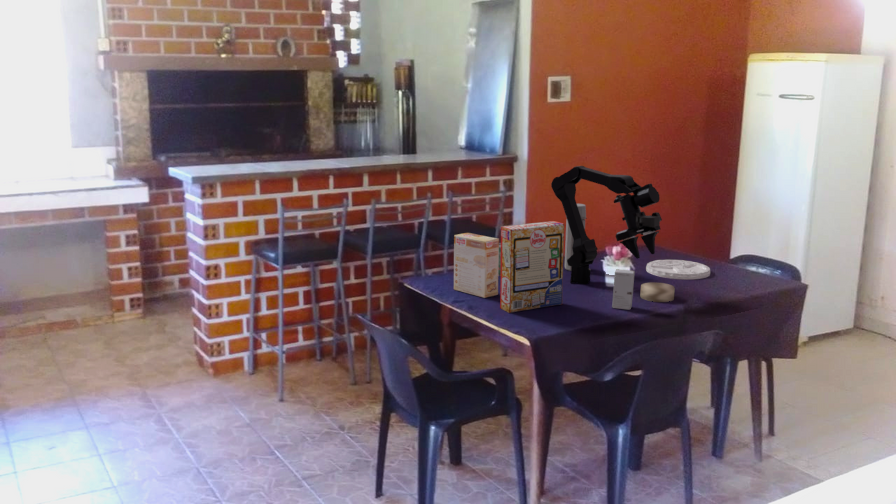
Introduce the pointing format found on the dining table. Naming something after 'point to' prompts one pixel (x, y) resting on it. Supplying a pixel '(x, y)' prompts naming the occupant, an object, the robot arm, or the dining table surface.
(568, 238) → the water bottle
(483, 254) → the coffeecake box
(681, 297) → the dining table surface
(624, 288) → the skincare box
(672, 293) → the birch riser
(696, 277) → the medallion
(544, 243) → the board game box
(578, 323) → the dining table surface
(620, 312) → the dining table surface
